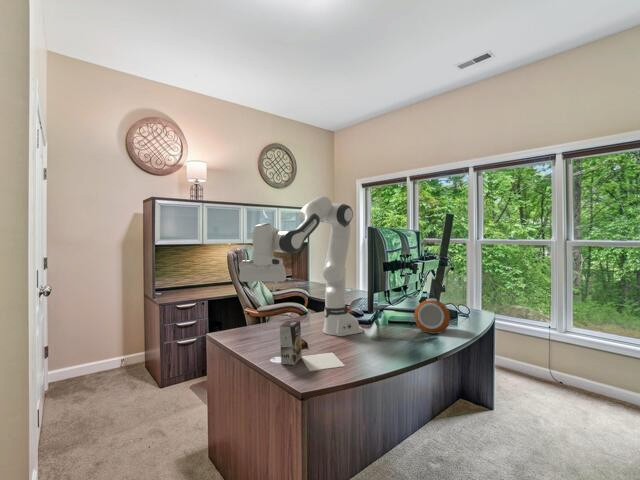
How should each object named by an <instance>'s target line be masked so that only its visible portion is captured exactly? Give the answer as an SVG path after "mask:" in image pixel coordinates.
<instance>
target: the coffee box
mask: <svg viewBox="0 0 640 480" xmlns="http://www.w3.org/2000/svg"><path fill="white" fill-rule="evenodd" d="M301 338H302V333H301V321H300V320H287V321H286V322H284V323H283V324H280V326H279V339H280V340H279V341H280V342H279V343H280V364H281V365H292V366H294V365H295V366H296V364H297V363H298V362H299V360H301V357H302V356H303V353H302V351H303V348H302V349H301Z"/></svg>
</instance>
